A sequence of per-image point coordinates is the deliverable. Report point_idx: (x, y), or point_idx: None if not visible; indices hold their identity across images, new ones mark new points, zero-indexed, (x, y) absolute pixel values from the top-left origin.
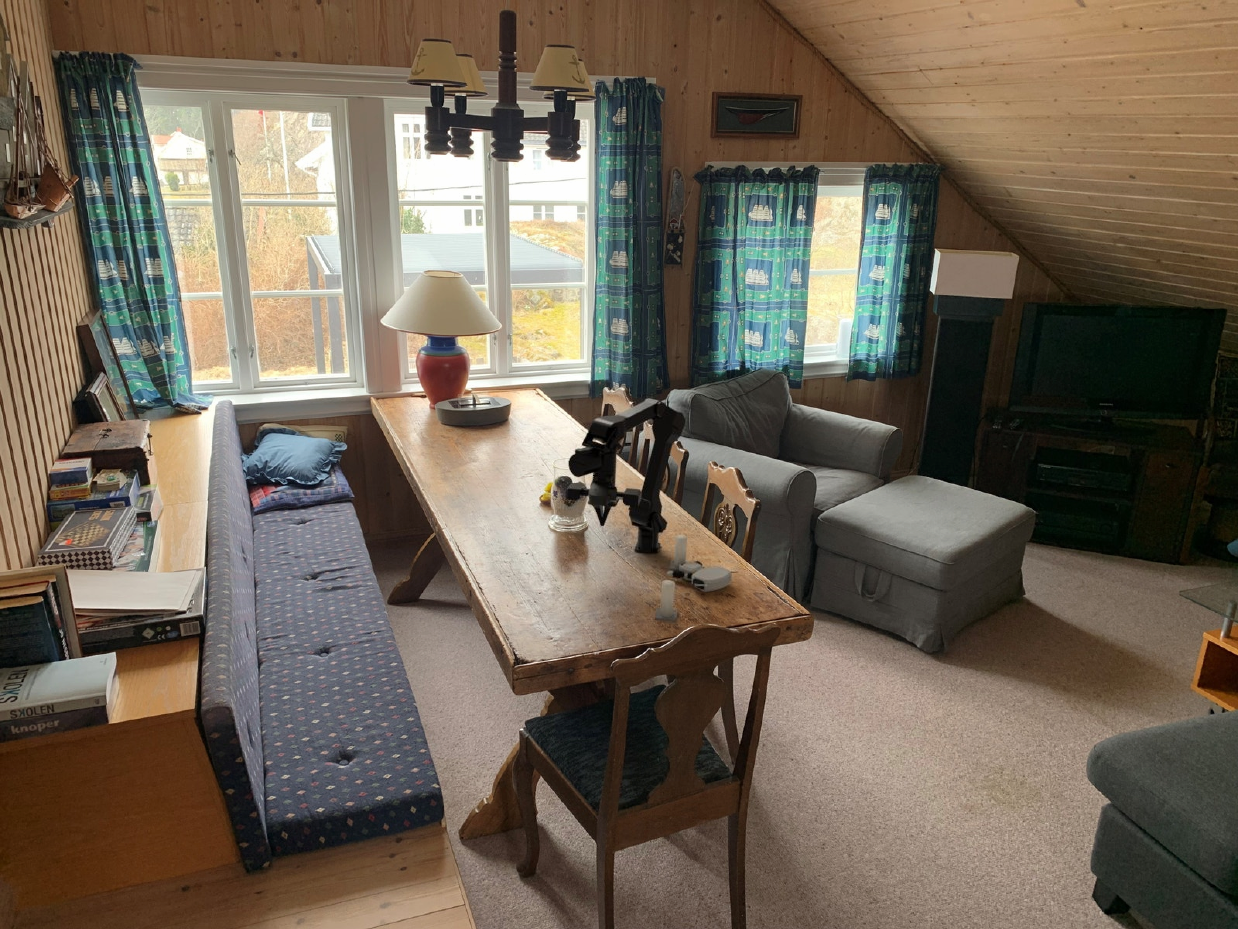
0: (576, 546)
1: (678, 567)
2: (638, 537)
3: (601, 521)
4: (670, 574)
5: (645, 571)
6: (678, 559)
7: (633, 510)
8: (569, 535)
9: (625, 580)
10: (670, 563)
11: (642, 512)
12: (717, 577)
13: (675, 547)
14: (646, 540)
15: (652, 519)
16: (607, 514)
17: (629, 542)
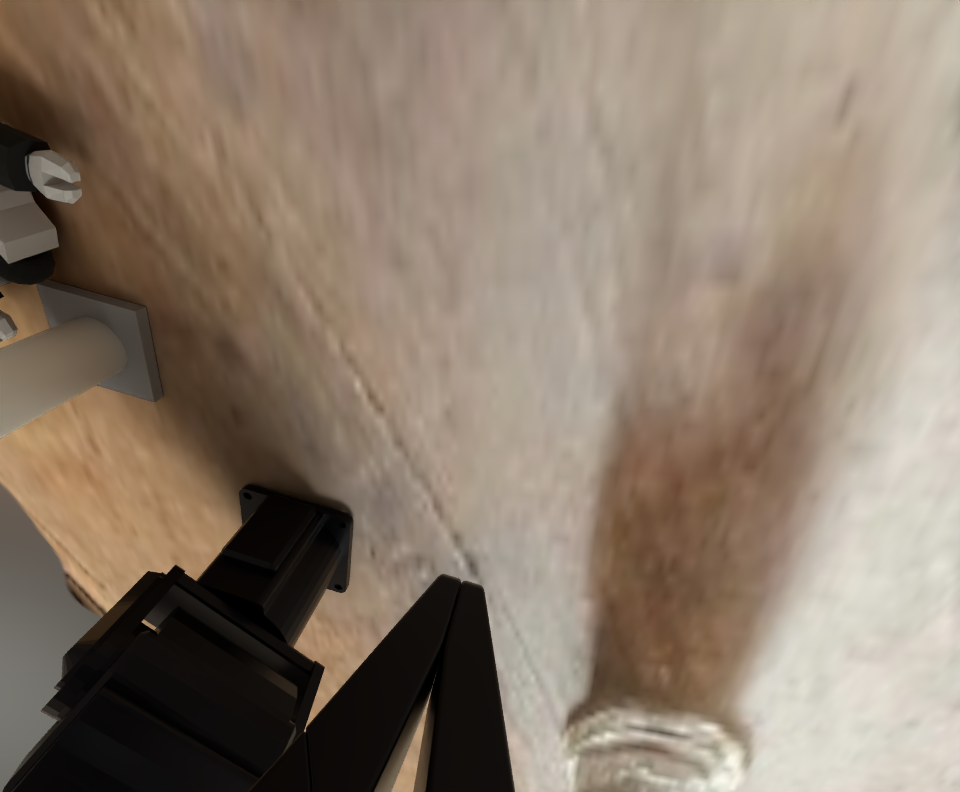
0: (648, 594)
1: (93, 318)
2: (310, 584)
3: (455, 643)
4: (45, 150)
5: (262, 291)
6: (51, 340)
7: (220, 770)
8: (664, 684)
9: (363, 142)
10: (147, 367)
11: (133, 733)
12: None
13: (9, 397)
14: (256, 544)
15: (94, 653)
16: (281, 766)
17: (386, 593)
